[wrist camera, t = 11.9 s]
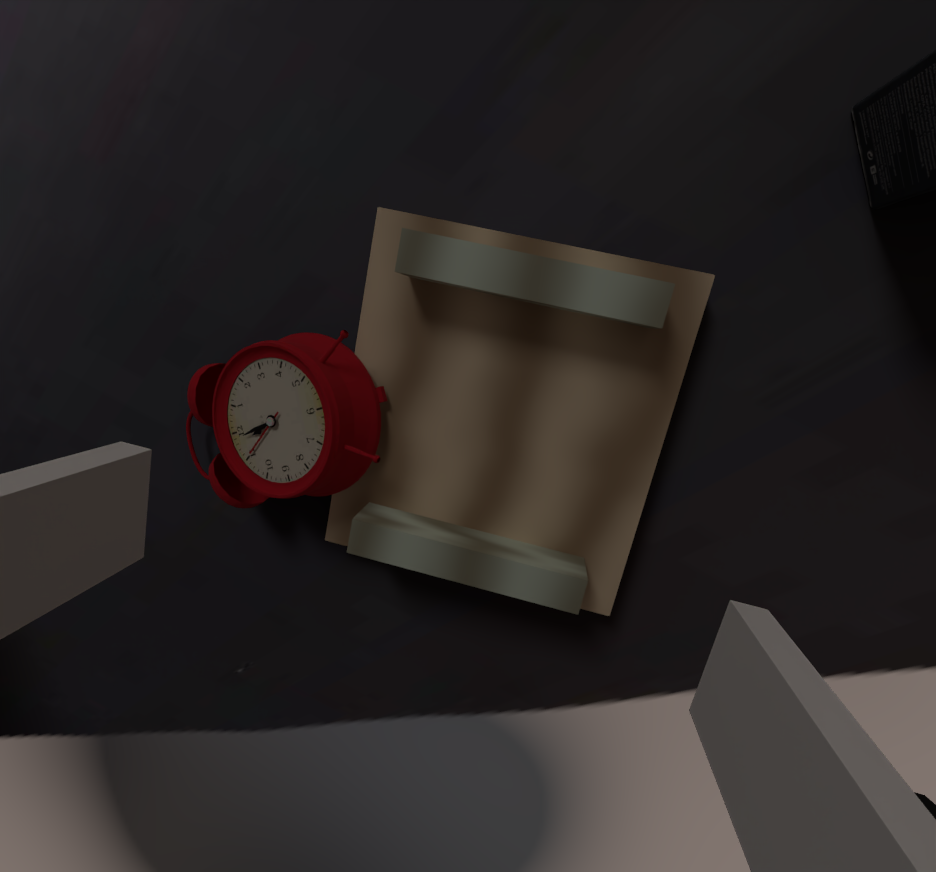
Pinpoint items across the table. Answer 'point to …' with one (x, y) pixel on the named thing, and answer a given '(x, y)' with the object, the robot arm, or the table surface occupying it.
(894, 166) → the box
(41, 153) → the table surface
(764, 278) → the table surface
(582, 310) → the display stand
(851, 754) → the robot arm
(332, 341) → the alarm clock
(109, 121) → the table surface
